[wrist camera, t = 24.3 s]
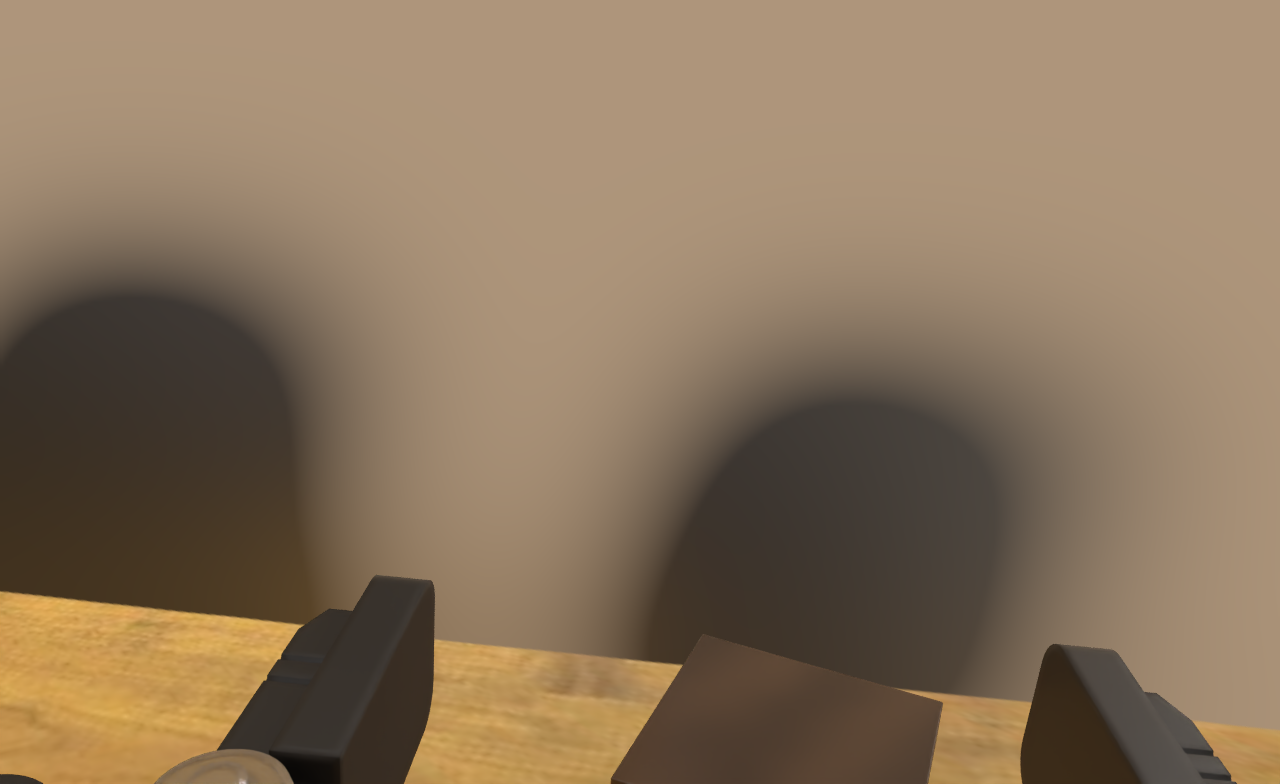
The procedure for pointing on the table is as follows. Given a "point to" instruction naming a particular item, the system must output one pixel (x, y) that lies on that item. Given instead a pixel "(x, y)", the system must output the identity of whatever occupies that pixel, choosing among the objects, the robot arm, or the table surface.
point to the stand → (779, 725)
